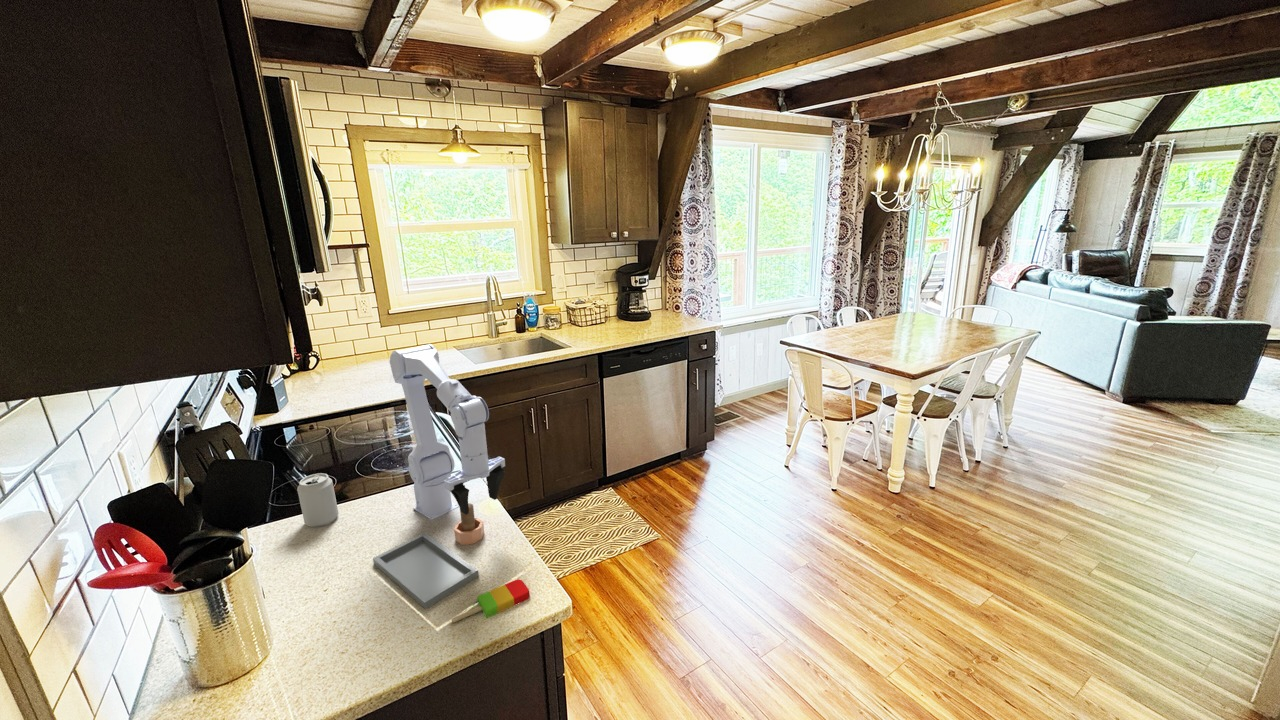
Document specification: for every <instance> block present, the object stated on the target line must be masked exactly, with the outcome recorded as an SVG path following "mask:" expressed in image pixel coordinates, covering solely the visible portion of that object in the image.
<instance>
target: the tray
mask: <svg viewBox="0 0 1280 720" xmlns="http://www.w3.org/2000/svg"><path fill="white" fill-rule="evenodd" d="M372 562H373V565H374V566H376V568H378V569H379V570H380V571H381V572H382V573H383V574H384V575H386V577H388V578H389V579H390V580H391V581H392V582H393V583H395V584H396V585H397V586H398V587H399V588H400V589H401V590H403V591H404V592H405V593H406V594H407V595H409V596H410V597H411V598H412V599H413V600H414V601H416V602H417V604H418V605H420V606H421V607H422V608H423V609H425V610H427V609H428V608H431V607H432V606H433V605H435V604H437V603H438V602H440V601H442V600H443V599H445V598H446V597H448V596H450V595H451V594H452V593H455V592H456V591H458V590H459V589H461V588H462V587H464V586H466V585H467V584H470V583H471V582H472V581H474V580H475V579H477V578H478V577H480V574H479V570H478V569H477V568H476V567H475V566H473V565H471V564H470V563H468V562H467V561H466V560H464V559H463V558H461V557H460V556H459V555H457V554H455V552H453V551H451V550H450V549H448V548H447V547H446V546H445V545H443V544H441V542H439V541H437V540H436V539H434V538H433V537H431V536H430V535H428V534H427V533H426V532H422V533H421V534H419V535H418V534H417V536H414V537H413V538H411V539H408V540H406V541H405V542H403V543H400V544H399V545H397V546H395V547H393V548H390V549H389V550H386V551H384V552H383V553H380V554H379V555H376V556H375V557H373V558H372Z"/></svg>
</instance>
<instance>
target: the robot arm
mask: <svg viewBox="0 0 1280 720" xmlns="http://www.w3.org/2000/svg"><path fill="white" fill-rule="evenodd" d="M389 364H390V368H391V369H390V370H391V373H392V377H393V380H394V382H395V384H401V386H402V390H403V394H404V398H405V404H406V406H407V411H408V413H409V418H410V423H411V426H412V432H413V434H414V439H415V443H416V446H415V448H413V450H412V451H410V453H409V455H408V457H407V461H408V473H409V476H410V477H411V479H412V482H414V483H413V492H414V496H415V497H414V498H415V506H413V510H414V511H416V512H417V513H420V514H421V515H423V516H425V517H426V518H428V519H429V520H435V519H437V518H439V517H441V516H442V515H445V514H447V513H449V512H451V511H453V510H455V509H457V508H459V511H460V510H461V512H462V513H464V514H468V513H469V506H468V503H469V493H470V489H468V488H467V487H466V485H465V483H467V482H469V481H473V480H476V479H486V483H487V493H488V496H489V498H491V499H492V500H493V501H495V500H498V495H499V489H500V486H501V483H502V480H503V479H504V476H505V474H506V473H505V472H506V471H505V469H503V468H504V467H506V459H505V458H504V457H502V456H497V457H495V458H491V459H489V455H488V448H487V447H488V445H487V437H486V436H487V435H486V425H485V422H487V421H488V420H489V418H490V411H489V407H488V405H487V403H486V401H485V400H484V398H482V397H481V396H476V395H472V394H471V393H470V392H469V390H467V388H465V386H464V385H462V383H461V382H460V381H459V380H458V379H455V378H452V379H451V378H450V377H449V375H448V374H447V372H446V371H445V369H443V366H442V365H441V364H440V356H439V353H438V350H437V348H436V347H435V346H434V345H433V344H431V343H427V344H425V345H424V344H423V345H419V346H415V347H414V346H413V347H409V348H404V349H399V350H398V349H395V350H393V351H391V354H390V357H389ZM425 380H427V381H428V382H429V383H430V384H431V385H432V386H433V387H435V389H436V396H437V398H438V400H439V401H441V403H442V404H443V405H444V407H445V408H447V410H448V411H449V412H450V419H451V421H452V423H453V427H454V432H455V435H456V436H457V437H458V444H459V446H458V447H459V451H460V452H459V453H460V461H461V469H460V470H459V471H457V472H456V473H455V474H453V475H452V473H453V471H455V470H454V469H455V466H456V465H455V459H454V456H453V455H452V454H451V451H450V447H449V446H448V445H447V444H445V443H443V442H441V441H438V438H437V433H436V430H435V425H434V421H433V417H432V413H431V410H430V408H431V407H430V404H429V402H428V397H427V392H426V388H425ZM452 496H453V497H454V499H455V500H456V502H457V503H455V502H453V501H452Z"/></svg>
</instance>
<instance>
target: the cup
mask: <svg viewBox="0 0 1280 720" xmlns="http://www.w3.org/2000/svg"><path fill="white" fill-rule="evenodd" d="M475 526H476V529H474V530H472V531H467V532H463V530H462V522H461V520H460V521H458V522H456V523H455V526H454V529H453V532H454V533H453V534H454V541H455V542H456V543H458V544H460V546H463V545H473V544H475V543H477V542H479V541H480V540H482V539H483V538H484V534H485V527H484V526H485V525H484V520H481V519H480V518H478V517H475Z"/></svg>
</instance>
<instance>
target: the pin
mask: <svg viewBox="0 0 1280 720" xmlns="http://www.w3.org/2000/svg"><path fill="white" fill-rule="evenodd" d="M468 506H469V513H468V514H464V513H462V512H461V510H460V509H459V513H460V521H461V522H462V530H463V532H467V531H472V530H474V529H476V526H475V518H476V517H475V510H474V504H473V503H469V502H468Z"/></svg>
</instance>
